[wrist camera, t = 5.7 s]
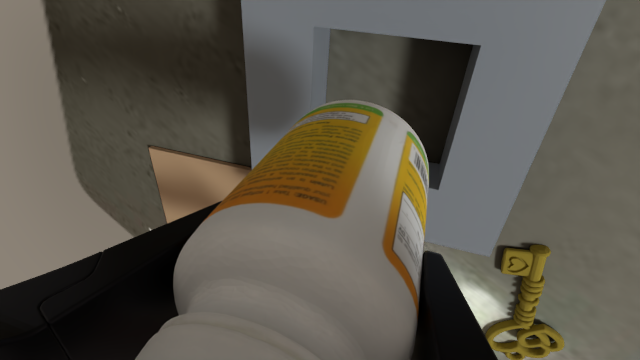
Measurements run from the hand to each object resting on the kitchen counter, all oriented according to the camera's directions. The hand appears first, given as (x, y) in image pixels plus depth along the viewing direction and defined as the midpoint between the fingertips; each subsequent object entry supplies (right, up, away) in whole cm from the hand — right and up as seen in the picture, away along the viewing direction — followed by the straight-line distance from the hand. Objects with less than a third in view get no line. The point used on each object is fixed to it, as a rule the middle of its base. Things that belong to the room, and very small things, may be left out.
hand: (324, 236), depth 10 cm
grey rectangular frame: (+4, +6, +10) cm, 13 cm away
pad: (-9, -1, +20) cm, 22 cm away
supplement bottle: (+1, +2, +3) cm, 4 cm away
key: (+15, -7, +16) cm, 23 cm away
